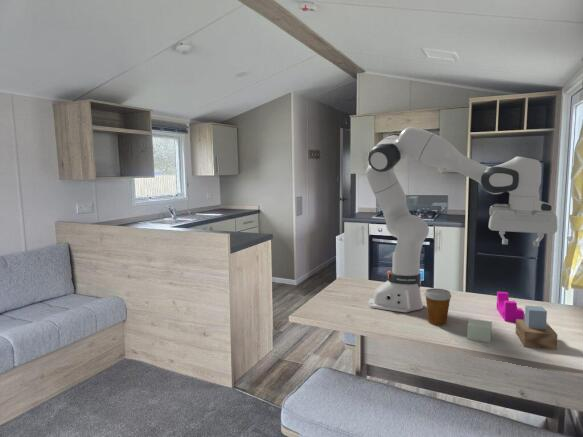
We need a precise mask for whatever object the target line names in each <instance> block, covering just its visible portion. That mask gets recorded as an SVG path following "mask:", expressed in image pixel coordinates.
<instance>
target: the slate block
mask: <svg viewBox="0 0 583 437" xmlns="http://www.w3.org/2000/svg"><path fill="white" fill-rule="evenodd" d="M547 314H548V311H547V310H546V309H545V307H543V306H538V305H525V307H524V320H525V324H526V325H527V327H528V328H534V329H546V322H547V318H548V317H547V316H548V315H547Z"/></svg>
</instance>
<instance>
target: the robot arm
mask: <svg viewBox="0 0 583 437" xmlns="http://www.w3.org/2000/svg"><path fill="white" fill-rule="evenodd" d="M405 157H409V158H411V159H414V160H417V161H418V162H420V163H422V164H425V165H427V166H430V167H434V168H439V169H443V170H450V171H453V172H456V173H458V174H461V175H464V176H465V177H467V178H469V179H471V180H473V181H475V182H477V183H478V184H479V185H480V186H481V187H482V189H483V190H484V191H485V192H487V193H489V194H491V195H501V194H503V193H509V196H508V203H507V204H506V203H494V204H492V205H491V206H490V207H489V210H488V214H489V218H488V219H489V220H488V229H489V230H490V231H496V232H498V235H499V236H500V238H501V239H502V240H501V244H502V245H508V244H509V239H508V238H506V237H505V236H504V235H505V234H506V232H512V233H513V232H514V233H531V234H532V233H533V234H537V238H536V239H535V240H532V246H533V247H540V242H541V241H542V239H544V237H545V235H546V234H549V235H554V234H556V233H557V232H558V216H557V215H556V213H555V211H556V205H554V204H551V203H548V202H546V201H543V200H540V198H541V196H540V186H541V184H542V164H541V161H539V159H538V158H535V157H532V156H525V155H517V156H514V158H512V159H509V160H507V161H506V162H503V163H500V164H496V165H493V166H491V165H490V166H489V165H485V164H483V163H481V162H478V161H476V160H474V159H472V158H469V157H468V156H466V155H464V154H463V153H461V152H460V151H459V150H458V149H457V148H456V147H455V146H454V145H453V144H452V143H451V142H449V141H448V140H447V139H445V138H444V137H442V136H440V135H438V134H436V133H434V132H431V131H429V130H426V129H423V128H419V127H417V126H415V127H414V126H408V127H405V128H404V129H403V130H402V131H401V132H400V133H392V134H389V135H388V136H386V137H384V138H382V140H380V141H379V142H378V143H377V144H376V145H375V146H373V147H372V148H371V149H370V151H369V153H368V157H367V161H368V164H369V165H368V166H367V168H366V171H365V174H366V179H367V181H368V183H369V187H370V189H371V190H372V193H373V195H374V197H375V200H377V202H378V205H379V207H380V209H381V211H382V215H383V217H384V221H385V224H386V225H385V226H386V229H387V230H386V231H387V232H389V234H391V236H392V237H394V238H396V239H397V241H396V246H395V249H394V251H393V253H392V266H391V267H392V269H391V270H392V271H391V270H388V271H387V272H386V276H387V277H386V280H385V282H383V283H381V284H379V286H377V287H376V288H375V290H374V292H373V294H374V295H373V296H372V297H370V298H369V300H368V306H369V308H372V309H378V310H385V311H393V312H399V313H409V312H414V311H419V310H421V309H423V308H424V304H423V301H422V300H423V299H422V296H421V294H422V293H421V285H422V276H421V273H420V267H421V253H422V248H423V244H424V241H425V240H426V239H427V237H428V236H429V232H430V227H429V225H428V223H427V222H426V220H424V219H423V218H422V217H420V216H418V215H415V214H411V213H410V211H409V208H408V207H409V206H408V204H407V195H406V193H405V191H404V189H403V187H402V186H401V183H400V181H399V180H398V177H397V175H396V173H395V171H394V168H395V166H397V165H398V164H399V163H400V162H401V161H402V160H403V159H404V158H405Z"/></svg>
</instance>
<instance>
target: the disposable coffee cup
mask: <svg viewBox="0 0 583 437" xmlns="http://www.w3.org/2000/svg"><path fill="white" fill-rule="evenodd" d="M424 296H425V301H426V311H427V319H428V323H429V324H431V325H434V326H446V325H447V322H448V321H447V320H448V315H449V308H450V303H451V302H450V301H451V299H452V294H451V292H450V290H447V289H444V288H433V287H432V288H427V289H425V293H424Z"/></svg>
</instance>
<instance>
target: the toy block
mask: <svg viewBox="0 0 583 437" xmlns="http://www.w3.org/2000/svg"><path fill="white" fill-rule="evenodd" d="M496 310H497V311H498V313H499V315H500V316H501V318H502V320H504V322H507V323H509V322H510V323H516V319H521V320H525V310H523V309H522V308H521V307H518V303H517V301H515V300H510V299H509V293H508V291H507V292H506V291H496Z"/></svg>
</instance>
